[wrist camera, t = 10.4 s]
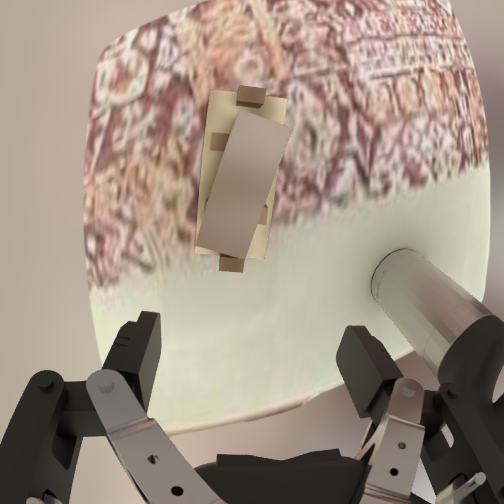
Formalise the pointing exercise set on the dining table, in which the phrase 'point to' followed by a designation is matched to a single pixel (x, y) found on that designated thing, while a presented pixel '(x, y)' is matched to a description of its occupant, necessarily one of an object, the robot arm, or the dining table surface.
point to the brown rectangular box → (242, 184)
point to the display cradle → (215, 140)
